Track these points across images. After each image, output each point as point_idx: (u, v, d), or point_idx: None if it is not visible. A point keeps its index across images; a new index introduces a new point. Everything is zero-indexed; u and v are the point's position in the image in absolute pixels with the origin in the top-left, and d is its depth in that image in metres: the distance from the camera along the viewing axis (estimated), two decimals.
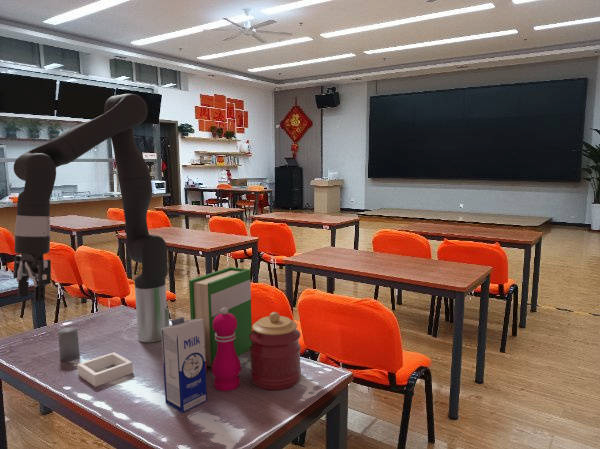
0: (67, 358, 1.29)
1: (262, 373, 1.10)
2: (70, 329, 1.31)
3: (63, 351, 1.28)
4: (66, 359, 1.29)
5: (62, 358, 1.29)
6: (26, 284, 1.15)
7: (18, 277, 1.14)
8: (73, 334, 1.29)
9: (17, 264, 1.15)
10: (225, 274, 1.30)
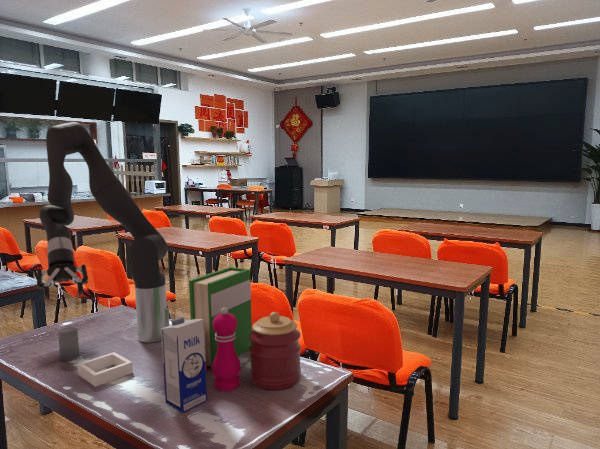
0: (67, 358, 1.29)
1: (262, 373, 1.10)
2: (70, 329, 1.31)
3: (63, 351, 1.28)
4: (66, 359, 1.29)
5: (62, 358, 1.29)
6: (77, 285, 1.43)
7: None
8: (73, 334, 1.29)
9: (82, 274, 1.48)
10: (225, 274, 1.30)
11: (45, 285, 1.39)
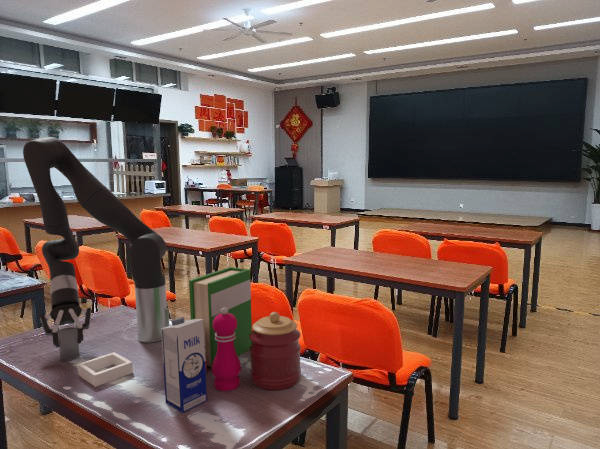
0: (67, 358, 1.29)
1: (262, 373, 1.10)
2: (70, 329, 1.31)
3: (63, 351, 1.28)
4: (66, 359, 1.29)
5: (62, 358, 1.29)
6: None
7: None
8: (73, 334, 1.29)
9: None
10: (225, 274, 1.30)
11: (54, 331, 1.29)
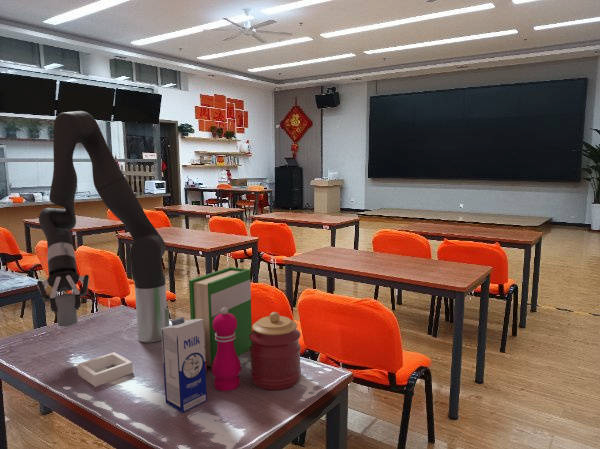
0: (65, 324, 1.27)
1: (262, 373, 1.10)
2: (67, 295, 1.30)
3: (61, 317, 1.27)
4: (64, 325, 1.27)
5: (60, 324, 1.28)
6: None
7: None
8: (70, 299, 1.28)
9: None
10: (225, 274, 1.30)
11: (52, 297, 1.28)
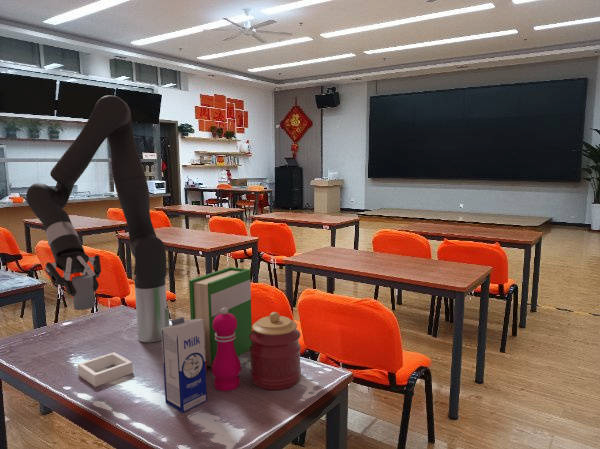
0: (85, 307, 1.17)
1: (262, 373, 1.10)
2: (84, 276, 1.19)
3: (81, 300, 1.17)
4: (84, 308, 1.17)
5: (79, 307, 1.17)
6: None
7: None
8: (90, 280, 1.18)
9: (93, 266, 1.26)
10: (225, 274, 1.30)
11: (67, 279, 1.17)
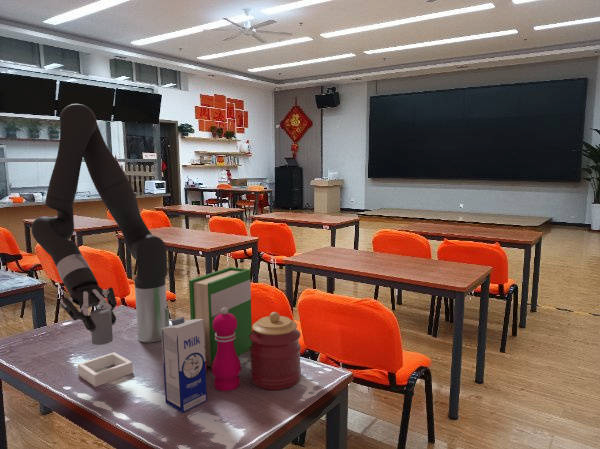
0: (105, 341, 1.17)
1: (262, 373, 1.10)
2: (102, 310, 1.18)
3: (100, 334, 1.16)
4: (103, 343, 1.16)
5: (98, 342, 1.16)
6: None
7: None
8: (109, 314, 1.17)
9: (107, 298, 1.25)
10: (225, 274, 1.30)
11: (86, 314, 1.16)
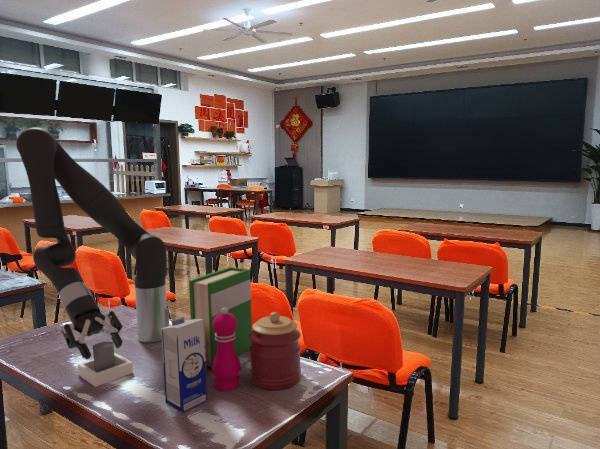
0: None
1: (262, 372, 1.10)
2: (104, 343, 1.20)
3: (103, 368, 1.17)
4: None
5: None
6: (114, 336, 1.23)
7: None
8: (112, 348, 1.19)
9: (110, 322, 1.27)
10: (225, 274, 1.30)
11: (81, 342, 1.16)
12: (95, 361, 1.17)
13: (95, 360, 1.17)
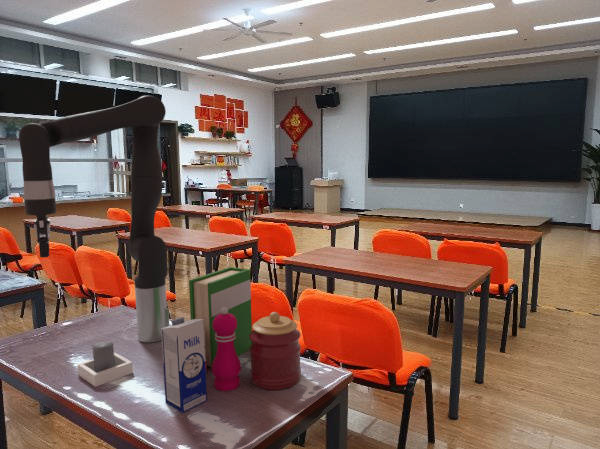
0: None
1: (262, 372, 1.10)
2: (104, 343, 1.20)
3: (103, 368, 1.17)
4: None
5: None
6: None
7: None
8: (112, 347, 1.19)
9: None
10: (225, 274, 1.30)
11: (48, 242, 1.24)
12: (95, 361, 1.17)
13: (95, 360, 1.17)
